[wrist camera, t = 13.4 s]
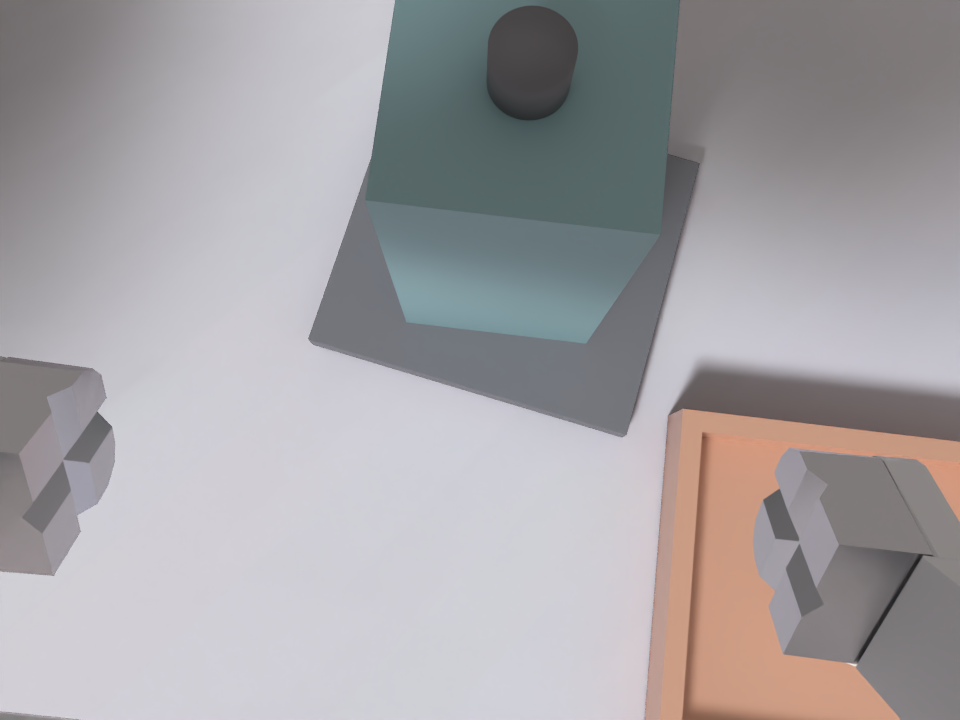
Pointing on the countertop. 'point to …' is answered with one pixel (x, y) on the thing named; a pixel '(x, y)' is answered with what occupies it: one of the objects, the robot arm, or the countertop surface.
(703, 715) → the dish
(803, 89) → the countertop surface
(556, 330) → the cover
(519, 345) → the mat
